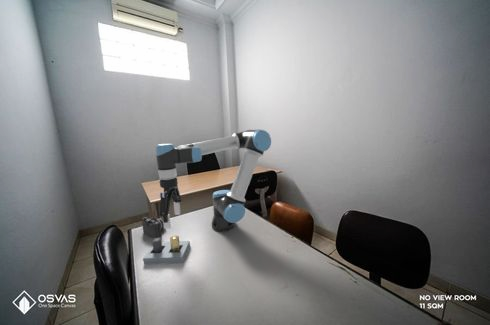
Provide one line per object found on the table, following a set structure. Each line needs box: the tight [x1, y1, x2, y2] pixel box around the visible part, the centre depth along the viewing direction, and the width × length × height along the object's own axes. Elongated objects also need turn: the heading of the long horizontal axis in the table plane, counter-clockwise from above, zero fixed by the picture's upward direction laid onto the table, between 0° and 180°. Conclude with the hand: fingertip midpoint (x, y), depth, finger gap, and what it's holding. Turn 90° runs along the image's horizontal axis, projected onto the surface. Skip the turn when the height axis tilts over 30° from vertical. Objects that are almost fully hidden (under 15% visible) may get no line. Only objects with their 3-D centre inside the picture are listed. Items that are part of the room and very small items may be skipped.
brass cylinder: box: [169, 235, 180, 253], centre depth 86 cm, size 4×4×8 cm
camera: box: [141, 216, 164, 239], centre depth 106 cm, size 14×11×10 cm
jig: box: [142, 237, 191, 265], centre depth 86 cm, size 18×12×8 cm, turn 91°
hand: (173, 220), depth 84 cm, fingers open, 12 cm apart
